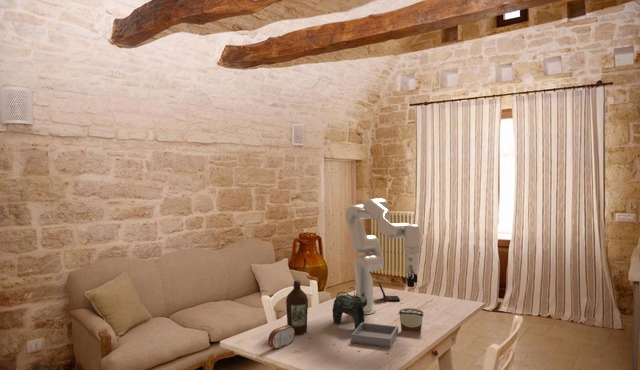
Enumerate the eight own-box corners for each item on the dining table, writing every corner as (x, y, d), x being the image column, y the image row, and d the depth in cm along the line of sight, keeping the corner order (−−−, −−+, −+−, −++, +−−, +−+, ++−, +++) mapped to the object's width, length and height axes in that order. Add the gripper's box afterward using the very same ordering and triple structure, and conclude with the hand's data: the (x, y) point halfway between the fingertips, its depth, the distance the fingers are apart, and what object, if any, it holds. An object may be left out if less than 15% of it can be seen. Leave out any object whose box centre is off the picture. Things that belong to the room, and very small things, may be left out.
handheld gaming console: (400, 302, 274) (400, 285, 274) (380, 302, 274) (380, 285, 274) (397, 298, 283) (397, 282, 283) (378, 298, 284) (378, 282, 283)
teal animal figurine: (368, 329, 226) (368, 288, 226) (360, 332, 221) (360, 291, 221) (337, 320, 239) (337, 282, 239) (329, 323, 235) (329, 284, 234)
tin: (291, 340, 211) (290, 322, 210) (296, 342, 209) (296, 323, 208) (267, 350, 199) (267, 331, 199) (272, 352, 197) (272, 332, 197)
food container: (425, 329, 225) (425, 309, 225) (424, 333, 219) (424, 312, 219) (400, 326, 229) (400, 307, 229) (398, 330, 223) (398, 310, 223)
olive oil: (284, 329, 226) (284, 279, 225) (305, 327, 228) (305, 277, 228) (288, 336, 216) (287, 284, 215) (310, 334, 218) (309, 282, 217)
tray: (351, 343, 207) (351, 334, 207) (361, 330, 224) (361, 322, 224) (390, 348, 201) (390, 339, 201) (398, 334, 217) (398, 326, 217)
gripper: (417, 252, 214) (417, 289, 214) (422, 247, 230) (422, 281, 230) (401, 252, 216) (401, 288, 217) (407, 247, 233) (407, 280, 233)
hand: (412, 284), depth 223 cm, fingers open, 9 cm apart
